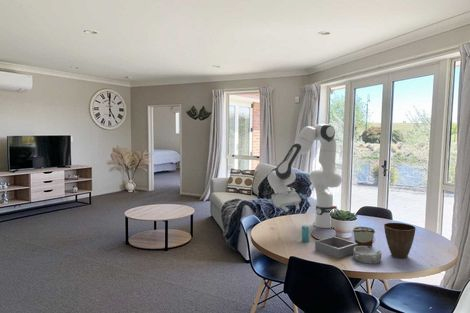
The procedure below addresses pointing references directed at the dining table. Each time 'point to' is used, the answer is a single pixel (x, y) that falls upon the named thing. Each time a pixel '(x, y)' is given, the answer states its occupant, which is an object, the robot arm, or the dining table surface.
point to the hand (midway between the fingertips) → (293, 210)
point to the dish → (366, 255)
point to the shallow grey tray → (327, 247)
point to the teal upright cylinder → (305, 233)
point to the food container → (363, 236)
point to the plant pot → (399, 238)
